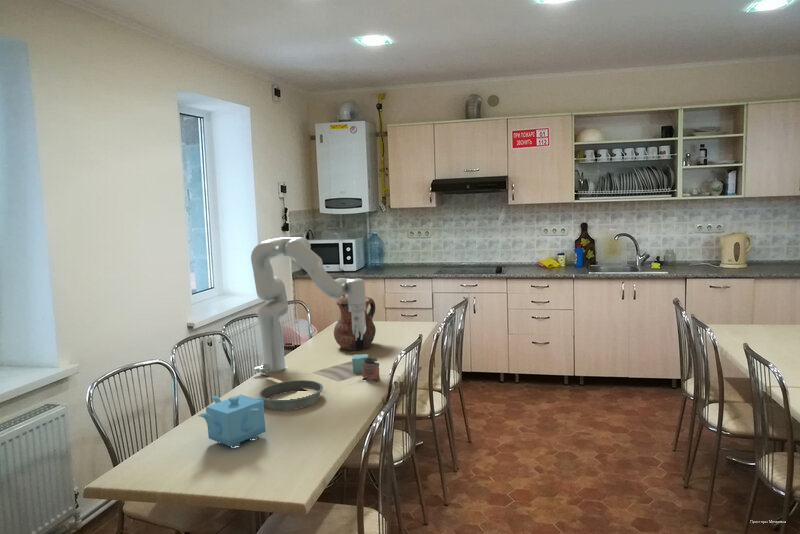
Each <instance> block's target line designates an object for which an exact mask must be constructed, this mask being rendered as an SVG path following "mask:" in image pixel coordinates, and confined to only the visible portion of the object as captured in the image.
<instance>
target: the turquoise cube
mask: <svg viewBox="0 0 800 534" xmlns="http://www.w3.org/2000/svg"><path fill="white" fill-rule="evenodd" d="M365 357H370V356H369V353H368V354H367V353H365V354H364V353H363V354H353V356H352V358H351V361H352V365H353V372H363V370H362V362H365V361H364V358H365ZM366 362H367V361H366Z"/></svg>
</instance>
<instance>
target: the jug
mask: <svg viewBox="0 0 800 534" xmlns="http://www.w3.org/2000/svg"><path fill="white" fill-rule="evenodd" d="M365 299H366V311H364V312H365V321H366V331H365V333H364V334H363V342H364V348H363V349H356V341H355V340H356V338H355V335H354V334H353V330H352V313H351V312H349V305H348V296H342V297H339V298H337V300H336V302H335V303H336V304H337V305H338V308H339V310H340V319H338V321H337V323H336V324H335V325H334V328H333V337H334V340H335V341H336V343H337V345H339V347H340V348H342V349H344V350H347V351H358V350H359V351H360V350H364V349H367V348H369V347H371V344H372V343H373V342H374V340H375V337H376V331H377V330H376V329H377V328H376V325H375V323H374V321H373V318H374V315H375V313H376V303H375V300H374V299H373V298H371V297H369V296H365ZM369 305H370V307H369ZM368 307H369V310H368Z"/></svg>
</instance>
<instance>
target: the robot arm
mask: <svg viewBox="0 0 800 534" xmlns="http://www.w3.org/2000/svg"><path fill="white" fill-rule="evenodd" d="M311 248H312V246H311V243H310V241H309V240H308V239H307V238H305V237H301V236H300V237H277V238H272V239H271V238H270V239H267V240H264V241H261V242H260V243H258V244H257V245H256V246H254V248H253V250H252V251H251V255H250V261H251V268H252V271H253V278H254V284H255V291H256V296H257V297H258V299H260V300H261V301H267V303H265V304H262V305H261V307H260V308H259V309H258V311H257V320H258V321H257V322H258V325H259V330H260V331H259V332H260V338H261V339H260V340H261V351H262V361H263V362H261V364H260V365H259V366H256V367H253V372H254V373H256V372H260V374H261V375H262V376H267V377H268V376H269V374H268V373H273V372H281V371H284V370H285V369H288V366H287V365H286V360H285V347H284V335H283V334H284V333H283V329H282V325H281V322H280V321H282V320H284V319H285V317H287V315H288V313H289V302H288V298H287V291H286V290H287V289H286V286H285V283H284V282H283V280H282V278H280V277H278V276H274V271H273V270H274V269H273V265H272V264H271V260H273V259H277V258H280V257H281V258H282V257H289V258H290V259H291V260H293V261H294V262H295V263H296V264H298V266H299V267H300V268H302V269H303V270H304V271H305V272H306V273H307V274H308V275H309V277H310V279H311V280H312V282H313V283H314V284H315V286H316V287H317V288H318V289H319V291H321V292H322V293H323V294H325V295H326V296H327V297H329V298H331V299H339V298H342V297H344V296H346V295H347V297H348V305H349V312H351V313H352V330H353V334H354V335H355V338H356V340H355V341H356V349H361V350H364V349H365V348H364V342H363V334H364V333H365V331H366V321H365V312H364V311H366V299H365V297H366V286H365V285H366V283H365V281H364V279H363V278H360V277H359V278H346V277H339V278H335V279H334V278H333V277H332V276H331V275H330V274H329V273H328V272H327V271H326V269H325V268H324V263H323V259H322V258H321V256H319V255H318V254H317V253H315V251H313V250H312V249H311ZM363 348H364V349H363Z"/></svg>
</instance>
